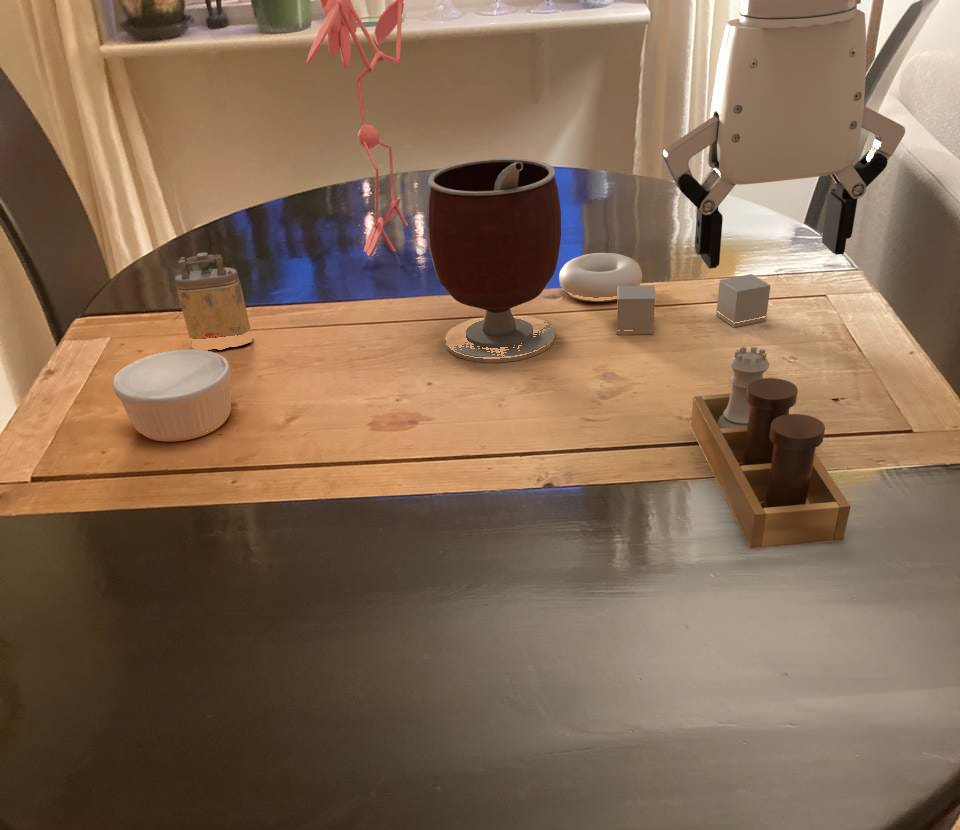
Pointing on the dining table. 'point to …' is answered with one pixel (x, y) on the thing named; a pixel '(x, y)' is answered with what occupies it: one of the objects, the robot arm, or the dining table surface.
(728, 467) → the rack
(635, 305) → the grey block
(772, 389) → the walnut rook
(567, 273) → the donut
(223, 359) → the ramekin
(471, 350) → the mate gourd
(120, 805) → the dining table surface
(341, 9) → the figurine
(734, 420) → the rook chess piece
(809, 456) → the walnut rook
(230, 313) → the lighter
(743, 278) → the grey block
